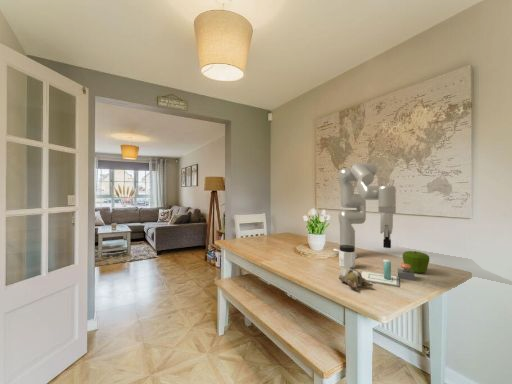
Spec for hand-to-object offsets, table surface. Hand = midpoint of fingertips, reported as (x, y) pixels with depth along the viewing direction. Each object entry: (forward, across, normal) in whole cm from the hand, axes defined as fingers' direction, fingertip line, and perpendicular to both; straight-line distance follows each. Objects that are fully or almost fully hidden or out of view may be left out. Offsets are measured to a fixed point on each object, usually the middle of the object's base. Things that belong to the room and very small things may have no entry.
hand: (387, 247), depth 119 cm
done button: (+14, -9, +8) cm, 19 cm away
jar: (+16, -13, -21) cm, 30 cm away
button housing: (+16, -9, +8) cm, 20 cm away
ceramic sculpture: (+17, +16, -14) cm, 27 cm away
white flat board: (+16, 0, -4) cm, 17 cm away
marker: (+16, 0, 0) cm, 16 cm away
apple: (+16, -23, +13) cm, 31 cm away
